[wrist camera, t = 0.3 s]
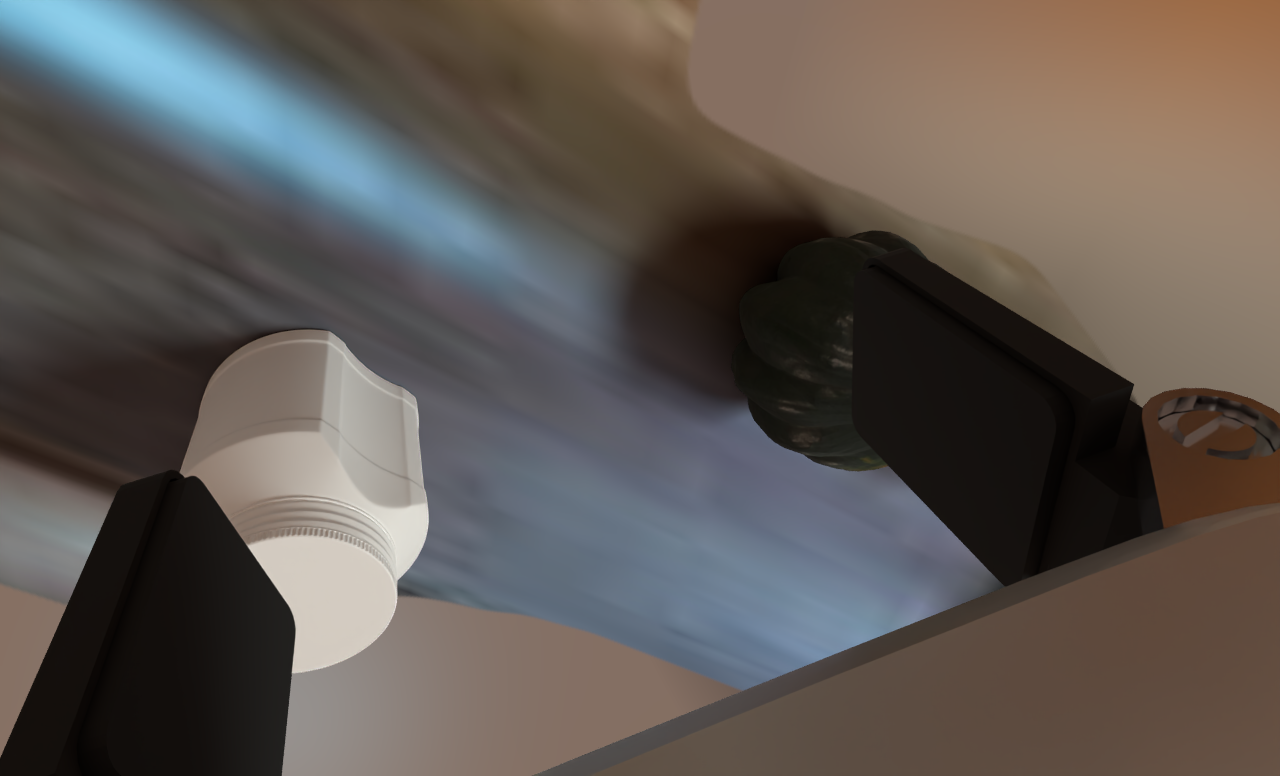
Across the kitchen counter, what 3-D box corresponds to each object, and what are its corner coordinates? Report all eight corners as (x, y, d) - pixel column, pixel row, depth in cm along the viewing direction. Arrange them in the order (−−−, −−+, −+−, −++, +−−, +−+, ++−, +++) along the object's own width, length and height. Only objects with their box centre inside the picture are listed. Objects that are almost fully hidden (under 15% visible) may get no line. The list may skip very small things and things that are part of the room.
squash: (715, 487, 48) (956, 547, 40) (679, 288, 40) (972, 315, 32) (792, 371, 57) (1000, 401, 50) (776, 191, 49) (1021, 193, 42)
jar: (445, 419, 45) (474, 597, 33) (335, 511, 46) (325, 717, 34) (290, 299, 39) (256, 469, 27) (166, 411, 40) (79, 623, 28)
